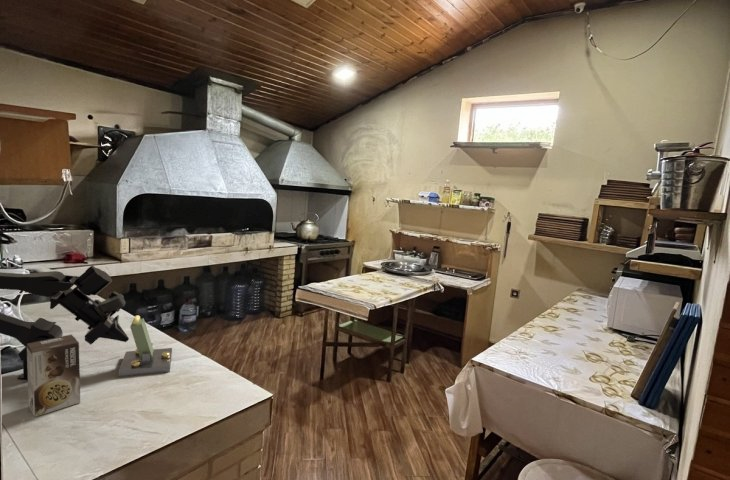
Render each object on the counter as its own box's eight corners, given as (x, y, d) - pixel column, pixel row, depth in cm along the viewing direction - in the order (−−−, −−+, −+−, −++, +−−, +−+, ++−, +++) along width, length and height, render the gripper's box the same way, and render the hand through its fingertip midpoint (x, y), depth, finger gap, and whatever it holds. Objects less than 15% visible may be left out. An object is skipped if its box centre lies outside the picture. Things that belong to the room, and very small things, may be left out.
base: (118, 377, 110) (118, 359, 109) (126, 357, 121) (126, 341, 121) (169, 372, 115) (170, 355, 114) (172, 353, 127) (172, 338, 126)
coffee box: (73, 393, 100) (72, 333, 98) (81, 403, 96) (80, 341, 94) (27, 406, 93) (25, 342, 91) (33, 417, 89) (32, 351, 87)
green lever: (141, 362, 115) (128, 322, 112) (143, 355, 120) (131, 316, 117) (152, 359, 116) (140, 319, 113) (154, 351, 121) (142, 313, 118)
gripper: (98, 295, 102) (146, 332, 108) (112, 278, 119) (152, 311, 125) (62, 326, 100) (113, 361, 106) (81, 304, 117) (124, 336, 123)
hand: (127, 340), depth 115 cm, fingers closed
